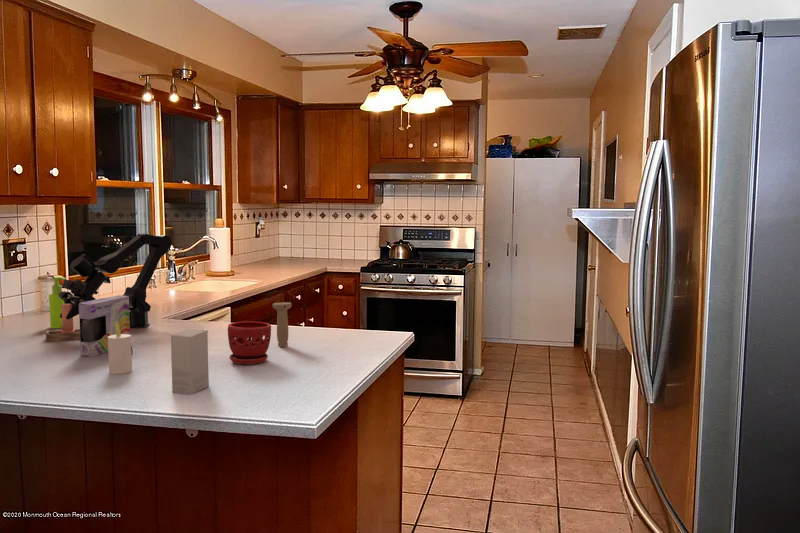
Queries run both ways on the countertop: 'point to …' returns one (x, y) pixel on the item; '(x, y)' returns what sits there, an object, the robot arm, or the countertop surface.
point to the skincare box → (189, 361)
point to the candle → (120, 352)
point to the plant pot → (249, 342)
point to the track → (62, 335)
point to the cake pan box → (102, 323)
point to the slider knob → (66, 324)
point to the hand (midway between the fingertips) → (63, 318)
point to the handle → (282, 322)
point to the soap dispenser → (56, 304)
